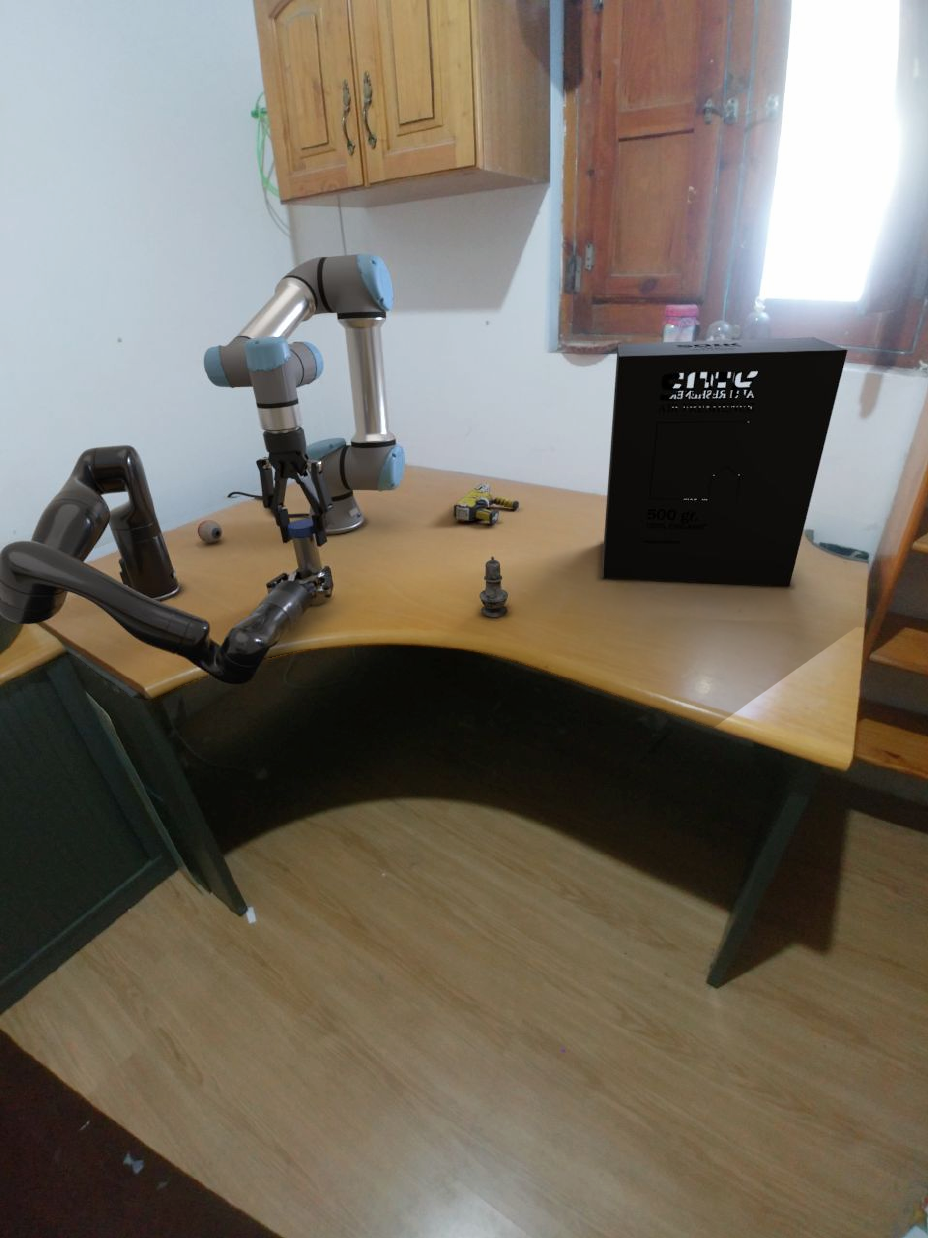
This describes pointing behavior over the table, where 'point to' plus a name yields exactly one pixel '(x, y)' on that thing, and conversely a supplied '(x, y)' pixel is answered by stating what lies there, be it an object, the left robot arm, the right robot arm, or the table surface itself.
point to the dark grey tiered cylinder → (493, 591)
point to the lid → (301, 528)
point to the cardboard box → (716, 458)
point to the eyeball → (209, 531)
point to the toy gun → (480, 505)
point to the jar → (308, 561)
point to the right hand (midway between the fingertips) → (305, 542)
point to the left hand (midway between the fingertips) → (316, 569)
